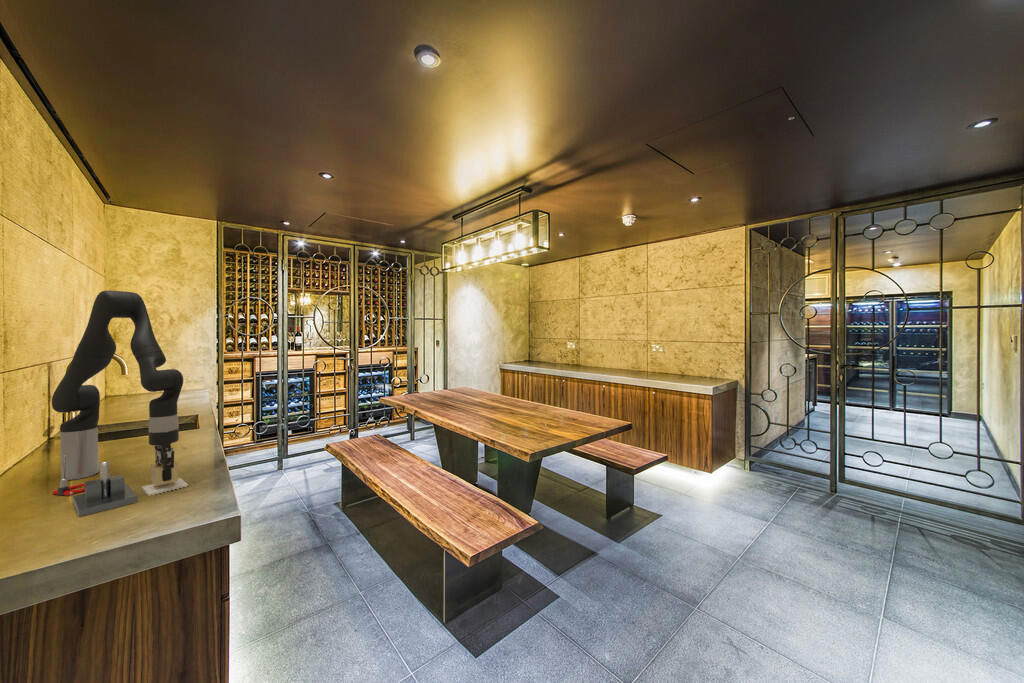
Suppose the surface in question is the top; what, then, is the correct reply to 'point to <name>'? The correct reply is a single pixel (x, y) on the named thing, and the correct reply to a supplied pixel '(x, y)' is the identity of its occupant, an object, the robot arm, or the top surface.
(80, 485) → the tow hook
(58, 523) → the top surface
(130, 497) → the gray base plate
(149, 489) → the pad
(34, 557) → the top surface
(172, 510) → the top surface
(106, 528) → the top surface
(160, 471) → the collar
